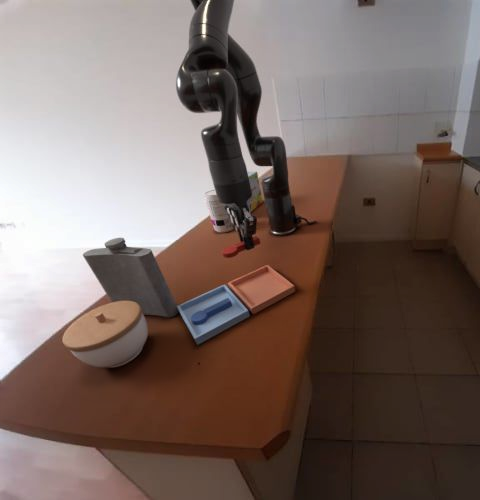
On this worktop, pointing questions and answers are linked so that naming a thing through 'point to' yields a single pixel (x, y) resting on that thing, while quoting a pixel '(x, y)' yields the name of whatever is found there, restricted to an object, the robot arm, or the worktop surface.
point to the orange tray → (261, 288)
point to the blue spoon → (210, 311)
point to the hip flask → (132, 277)
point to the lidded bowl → (108, 334)
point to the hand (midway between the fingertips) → (248, 246)
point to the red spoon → (237, 248)
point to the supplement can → (217, 213)
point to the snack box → (254, 191)
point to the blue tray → (217, 321)
